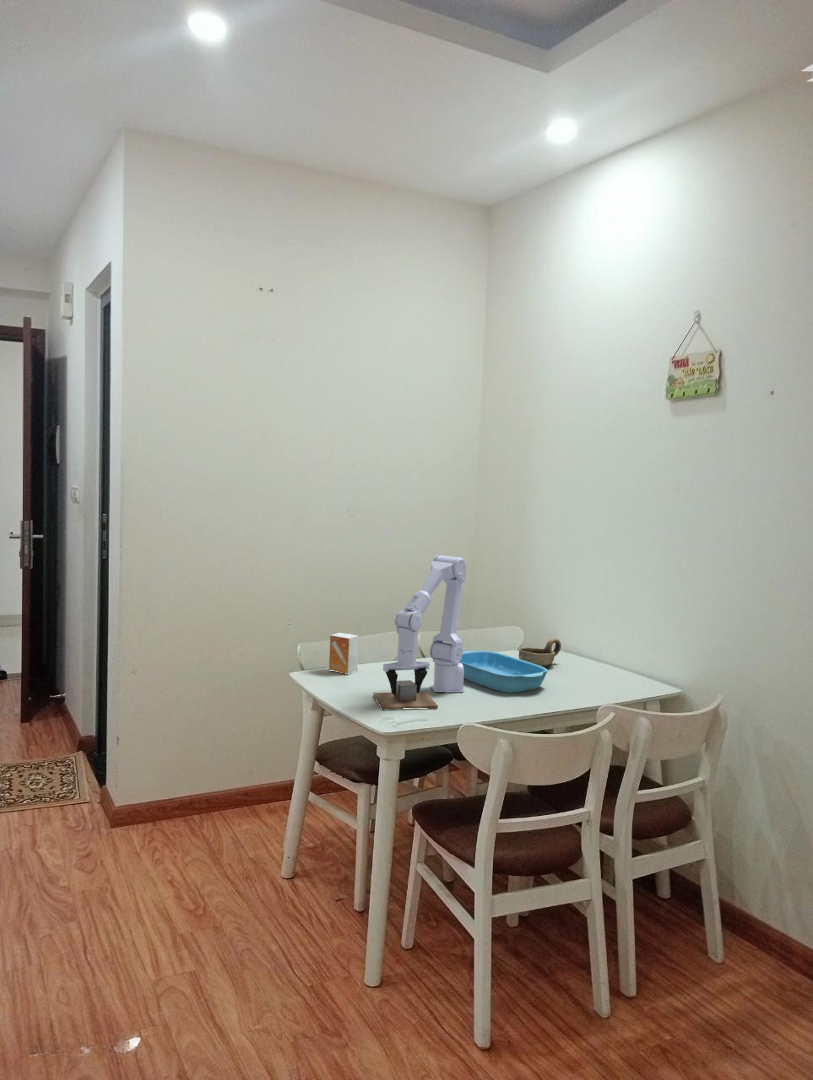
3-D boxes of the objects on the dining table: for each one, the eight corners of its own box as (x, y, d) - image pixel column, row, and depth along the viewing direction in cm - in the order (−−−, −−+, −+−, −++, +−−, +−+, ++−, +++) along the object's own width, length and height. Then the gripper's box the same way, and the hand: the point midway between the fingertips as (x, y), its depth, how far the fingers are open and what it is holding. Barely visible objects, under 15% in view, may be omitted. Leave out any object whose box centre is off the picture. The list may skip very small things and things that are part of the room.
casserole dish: (559, 690, 270) (560, 669, 270) (511, 700, 257) (512, 678, 256) (484, 666, 300) (485, 647, 299) (437, 673, 286) (438, 653, 286)
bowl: (510, 662, 306) (511, 636, 306) (548, 659, 314) (550, 634, 313) (529, 671, 294) (531, 644, 293) (569, 668, 301) (571, 642, 300)
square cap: (409, 695, 253) (410, 680, 252) (416, 700, 248) (416, 684, 247) (393, 697, 251) (394, 681, 250) (399, 701, 246) (400, 685, 245)
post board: (426, 694, 258) (426, 681, 258) (437, 708, 243) (438, 694, 243) (373, 695, 254) (374, 681, 254) (382, 710, 240) (382, 695, 239)
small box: (328, 671, 282) (329, 634, 281) (338, 668, 288) (340, 632, 286) (347, 675, 278) (349, 638, 277) (357, 671, 284) (359, 635, 283)
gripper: (424, 645, 254) (422, 688, 255) (380, 647, 248) (378, 690, 250) (432, 650, 247) (430, 694, 248) (388, 652, 242) (386, 697, 243)
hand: (405, 693), depth 249 cm, fingers open, 7 cm apart
